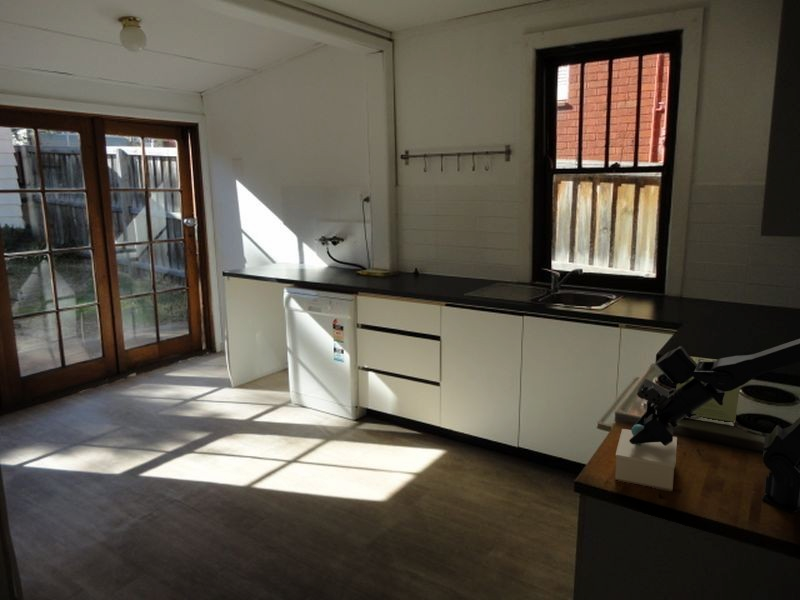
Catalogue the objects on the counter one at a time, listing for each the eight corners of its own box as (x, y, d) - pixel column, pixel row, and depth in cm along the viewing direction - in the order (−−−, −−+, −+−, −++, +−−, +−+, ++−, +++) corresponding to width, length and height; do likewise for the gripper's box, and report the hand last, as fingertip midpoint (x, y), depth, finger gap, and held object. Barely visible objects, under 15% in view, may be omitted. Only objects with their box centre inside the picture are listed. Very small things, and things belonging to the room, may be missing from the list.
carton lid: (676, 439, 140) (678, 418, 139) (675, 467, 128) (676, 444, 127) (622, 430, 146) (623, 410, 145) (615, 456, 133) (616, 434, 132)
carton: (674, 462, 142) (675, 440, 140) (672, 491, 130) (674, 467, 128) (621, 453, 147) (622, 431, 146) (615, 480, 135) (616, 457, 133)
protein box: (736, 427, 159) (741, 373, 155) (673, 417, 166) (677, 365, 163) (735, 413, 168) (741, 361, 164) (676, 404, 175) (680, 354, 172)
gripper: (663, 359, 140) (612, 395, 147) (659, 386, 123) (602, 425, 131) (697, 394, 138) (644, 429, 145) (697, 426, 122) (638, 464, 129)
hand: (632, 435), depth 138 cm, fingers open, 7 cm apart
